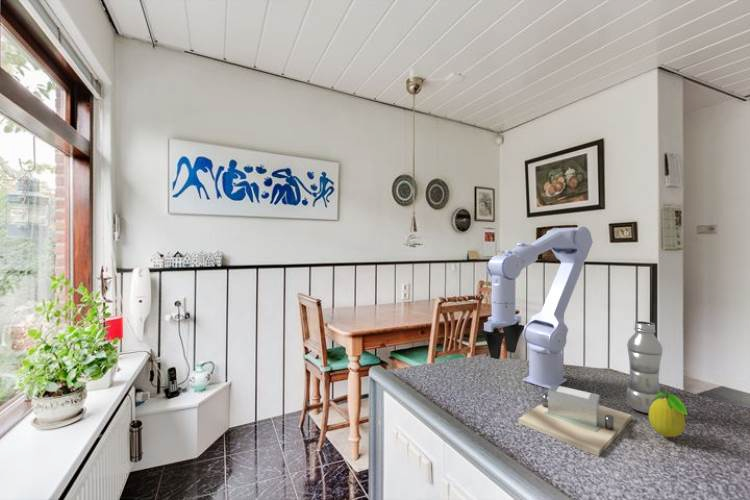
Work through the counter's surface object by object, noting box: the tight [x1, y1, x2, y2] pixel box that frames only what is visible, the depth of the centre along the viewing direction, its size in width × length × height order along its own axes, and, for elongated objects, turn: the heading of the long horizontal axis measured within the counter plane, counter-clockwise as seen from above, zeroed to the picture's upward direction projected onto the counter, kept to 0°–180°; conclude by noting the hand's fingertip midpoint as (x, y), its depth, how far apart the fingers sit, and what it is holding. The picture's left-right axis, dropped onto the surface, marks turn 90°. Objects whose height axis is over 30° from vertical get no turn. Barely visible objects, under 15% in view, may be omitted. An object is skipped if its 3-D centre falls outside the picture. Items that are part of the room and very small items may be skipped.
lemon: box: [648, 386, 688, 438], centre depth 68 cm, size 7×6×10 cm
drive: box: [547, 384, 600, 427], centre depth 75 cm, size 4×9×5 cm, turn 51°
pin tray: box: [518, 393, 633, 457], centre depth 74 cm, size 20×15×4 cm
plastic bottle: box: [625, 320, 663, 414], centre depth 79 cm, size 6×7×20 cm
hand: (503, 354), depth 89 cm, fingers open, 7 cm apart
